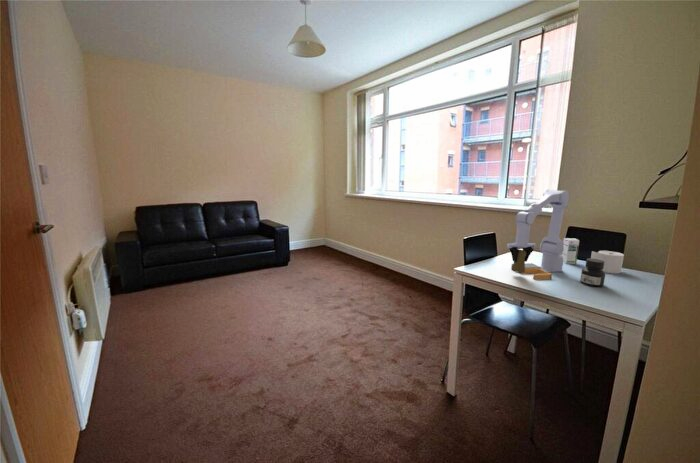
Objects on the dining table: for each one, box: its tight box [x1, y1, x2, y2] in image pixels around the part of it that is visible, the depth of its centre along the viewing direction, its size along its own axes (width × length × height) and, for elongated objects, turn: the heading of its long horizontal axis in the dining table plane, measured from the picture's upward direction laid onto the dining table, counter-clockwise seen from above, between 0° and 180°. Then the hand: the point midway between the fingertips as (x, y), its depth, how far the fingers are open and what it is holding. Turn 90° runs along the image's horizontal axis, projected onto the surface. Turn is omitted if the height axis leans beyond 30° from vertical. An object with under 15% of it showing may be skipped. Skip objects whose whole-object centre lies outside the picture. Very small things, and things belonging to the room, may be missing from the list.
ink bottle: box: [579, 257, 606, 288], centre depth 143 cm, size 10×9×12 cm
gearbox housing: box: [510, 262, 553, 280], centre depth 158 cm, size 12×17×4 cm
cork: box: [511, 249, 526, 274], centre depth 153 cm, size 6×6×11 cm
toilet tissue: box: [590, 250, 625, 274], centre depth 163 cm, size 11×12×10 cm
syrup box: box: [561, 237, 580, 265], centre depth 177 cm, size 6×6×14 cm
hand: (519, 261), depth 153 cm, fingers closed on cork, 5 cm apart
